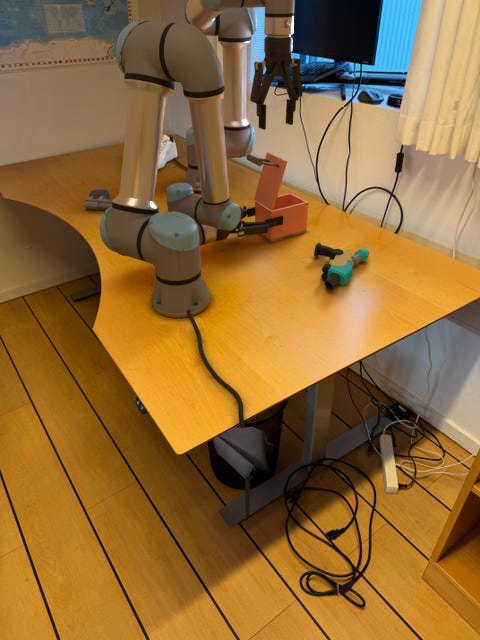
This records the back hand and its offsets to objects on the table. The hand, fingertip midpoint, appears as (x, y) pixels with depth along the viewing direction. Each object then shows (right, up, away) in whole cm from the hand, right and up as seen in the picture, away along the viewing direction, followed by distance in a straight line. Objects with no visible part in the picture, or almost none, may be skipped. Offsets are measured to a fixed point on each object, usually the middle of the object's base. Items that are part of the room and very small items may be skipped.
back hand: (275, 126), depth 138 cm
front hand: (0, -22, +16) cm, 27 cm away
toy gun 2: (+16, -42, 0) cm, 45 cm away
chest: (+3, -27, +21) cm, 34 cm away
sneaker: (-48, +15, +80) cm, 94 cm away
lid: (-1, -13, +9) cm, 16 cm away
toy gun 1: (-59, -13, +41) cm, 73 cm away
